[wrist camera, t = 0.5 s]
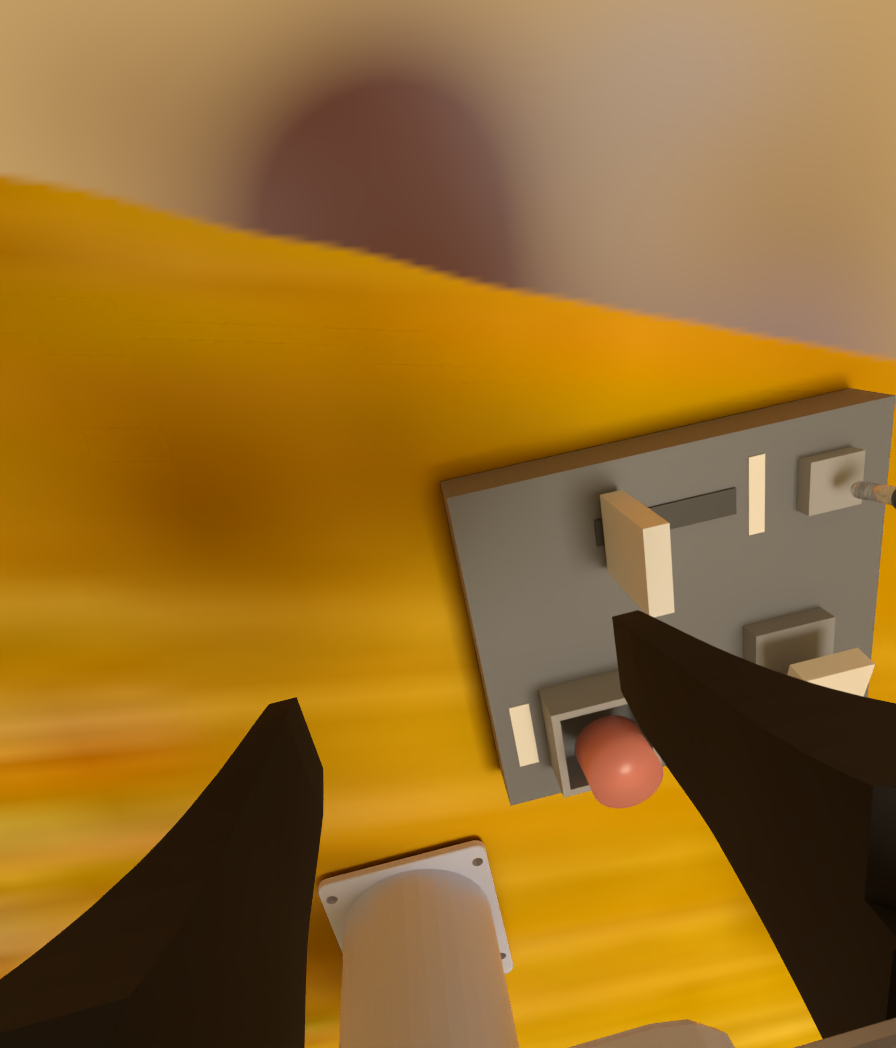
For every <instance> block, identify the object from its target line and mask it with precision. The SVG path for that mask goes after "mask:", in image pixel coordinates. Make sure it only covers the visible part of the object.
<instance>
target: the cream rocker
mask: <svg viewBox="0 0 896 1048" xmlns="http://www.w3.org/2000/svg"><path fill="white" fill-rule="evenodd" d="M874 666H875V663H874V662H873V661H872V660H870V659H869V658H868V657H867V656H866V655H865V654H864V653H863V652H862V651H861V650H860V649H859V648H855V649H851V650H847V651H843V652H839V653H835V654H831V655H827V656H823V657H819V658H815V659H811V660H807V661H803V662H799V663H795V664H791V665H790V666H789V670H788V674H787V675H788V676H792V677H795V678H798V679H801V680H804V681H807V682H810V683H813V684H817V685H820V686H824V687H828V688H831V689H835V690H839V691H843V692H847V693H851V694H855V695H859V696H864V694H865V691H866V688H867V685H868V683H869V680H870V677H871V674H872V671H873V669H874Z"/></svg>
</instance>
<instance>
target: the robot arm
mask: <svg viewBox="0 0 896 1048" xmlns="http://www.w3.org/2000/svg"><path fill="white" fill-rule="evenodd" d="M612 622H613V630H614V638H615V646H616V655H617V663H618V671H619V679H620V688H621V692H622V694H623V696H624V698H625V700H626V702H627V704H628V706H629V708H630V710H631V712H632V713H633V715H634V717H635V719H636V721H637V723H638V724H639V726H640V728H641V730H642V731H643V733H644V734H645V736H646V737H647V739H648V740H649V742H650V743H651V744H652V746H653V747H654V749H655V750H656V752H657V753H658V755H659V756H660V757H661V759H662V760H663V762H664V763H665V764H666V766H667V767H668V769H669V770H670V772H671V773H672V774H673V776H674V777H675V779H676V780H677V781H678V783H679V784H680V786H681V787H682V789H683V790H684V791H685V793H686V794H687V796H688V797H689V798H690V800H691V801H692V803H693V804H694V806H695V807H696V808H697V810H698V811H699V813H700V814H701V816H702V817H703V819H704V820H705V822H706V823H707V825H708V826H709V828H710V830H711V831H712V833H713V834H714V836H715V838H716V839H717V841H718V843H719V845H720V846H721V848H722V850H723V852H724V853H725V855H726V857H727V859H728V861H729V862H730V864H731V866H732V868H733V869H734V871H735V873H736V875H737V876H738V878H739V880H740V882H741V883H742V885H743V887H744V889H745V891H746V893H747V894H748V896H749V898H750V900H751V902H752V904H753V905H754V907H755V909H756V911H757V913H758V915H759V916H760V918H761V920H762V922H763V924H764V926H765V927H766V929H767V931H768V933H769V935H770V937H771V939H772V941H773V943H774V944H775V946H776V948H777V950H778V952H779V954H780V956H781V958H782V960H783V962H784V964H785V965H786V967H787V969H788V971H789V973H790V975H791V977H792V979H793V981H794V983H795V985H796V987H797V988H798V990H799V992H800V994H801V996H802V998H803V1000H804V1002H805V1004H806V1006H807V1008H808V1010H809V1012H810V1014H811V1016H812V1018H813V1020H814V1022H815V1024H816V1026H817V1028H818V1030H819V1032H820V1034H821V1036H822V1038H823V1039H822V1040H819V1041H815V1042H812V1043H809V1044H805V1045H802V1046H798V1047H795V1048H896V704H895V703H890V702H885V701H881V700H876V699H871V698H867V697H863V696H859V695H855V694H851V693H847V692H843V691H839V690H835V689H831V688H828V687H824V686H820V685H817V684H813V683H810V682H807V681H804V680H801V679H798V678H795V677H792V676H788V675H785V674H782V673H779V672H776V671H774V670H771V669H768V668H765V667H763V666H760V665H757V664H755V663H752V662H750V661H748V660H745V659H743V658H740V657H738V656H735V655H733V654H730V653H728V652H726V651H723V650H721V649H719V648H717V647H714V646H712V645H710V644H708V643H706V642H704V641H701V640H699V639H697V638H695V637H693V636H691V635H689V634H687V633H685V632H683V631H681V630H679V629H676V628H674V627H672V626H670V625H668V624H666V623H664V622H662V621H660V620H658V619H656V618H654V617H652V616H650V615H648V614H646V613H644V612H641V611H639V610H636V611H632V612H628V613H624V614H621V615H617V616H613V617H612ZM322 819H323V767H322V764H321V762H320V759H319V756H318V754H317V751H316V748H315V746H314V743H313V740H312V738H311V735H310V732H309V730H308V727H307V724H306V722H305V719H304V716H303V714H302V711H301V708H300V705H299V703H298V700H297V697H296V698H292V699H288V700H284V701H280V702H276V703H272V704H269V705H268V706H267V708H266V709H265V710H264V711H263V713H262V714H261V715H260V717H259V718H258V720H257V721H256V722H255V724H254V725H253V726H252V728H251V729H250V731H249V732H248V733H247V735H246V736H245V738H244V739H243V740H242V742H241V743H240V744H239V746H238V747H237V748H236V750H235V751H234V753H233V754H232V755H231V757H230V758H229V759H228V761H227V762H226V763H225V765H224V766H223V767H222V769H221V770H220V771H219V773H218V774H217V775H216V776H215V778H214V779H213V780H212V781H211V783H210V784H209V785H208V786H207V787H206V789H205V790H204V791H203V792H202V794H201V795H200V796H199V797H198V798H197V800H196V801H195V802H194V803H193V805H192V806H191V807H190V808H189V810H188V811H187V812H186V813H185V814H184V815H183V817H182V818H181V819H180V820H179V821H178V822H177V823H176V824H175V826H174V827H173V828H172V829H171V830H170V831H169V832H168V833H167V834H166V835H165V836H164V838H163V839H162V840H161V841H160V842H159V843H158V844H157V845H156V846H155V847H154V848H153V849H152V850H151V851H150V852H149V853H148V854H147V855H146V856H145V857H144V858H143V859H142V860H141V861H140V862H139V863H138V864H137V865H136V866H135V867H134V868H133V869H132V870H131V871H130V872H129V873H128V874H126V875H125V876H124V877H123V878H122V879H121V880H120V881H119V882H118V883H117V884H116V885H115V886H114V887H112V888H111V889H110V890H109V891H108V892H107V893H106V894H105V895H104V896H103V897H102V898H101V899H100V900H98V901H97V902H96V903H95V904H94V905H93V906H92V907H91V908H89V909H88V910H87V911H86V912H85V913H84V914H82V915H81V916H80V917H79V918H78V919H77V920H75V921H74V922H73V923H72V924H71V925H69V926H68V927H67V928H66V929H65V930H64V931H62V932H61V933H60V934H59V935H57V936H56V937H55V938H54V939H52V940H51V941H50V942H49V943H47V944H46V945H45V946H44V947H42V948H41V949H40V950H39V951H37V952H36V953H35V954H34V955H32V956H31V957H30V958H28V959H27V960H26V961H24V962H23V963H22V964H21V965H19V966H18V967H17V968H15V969H14V970H12V971H11V972H10V973H8V974H7V975H6V976H4V977H3V978H1V979H0V1048H304V1042H305V993H306V964H307V942H308V931H309V920H310V913H311V905H312V897H313V890H314V882H315V875H316V867H317V859H318V852H319V844H320V836H321V828H322ZM476 858H477V859H476ZM318 895H319V897H320V900H321V902H322V905H323V907H324V909H325V912H326V914H327V917H328V919H329V922H330V924H331V927H332V929H333V931H334V934H335V936H336V939H337V941H338V944H339V946H340V949H341V951H342V954H343V965H342V989H341V1013H340V1036H339V1048H519V1044H518V1039H517V1034H516V1029H515V1025H514V1020H513V1015H512V1010H511V1005H510V1000H509V995H508V990H507V985H506V980H505V975H504V974H506V973H509V972H510V971H511V970H512V968H513V962H512V957H511V953H510V949H509V945H508V941H507V936H506V932H505V928H504V924H503V920H502V916H501V911H500V907H499V903H498V899H497V895H496V891H495V886H494V882H493V878H492V874H491V870H490V866H489V861H488V857H487V853H486V849H485V845H484V843H483V842H481V841H478V840H473V841H469V842H465V843H461V844H457V845H453V846H450V847H446V848H442V849H438V850H434V851H430V852H426V853H423V854H419V855H415V856H411V857H407V858H403V859H400V860H396V861H392V862H388V863H384V864H380V865H376V866H373V867H369V868H365V869H361V870H357V871H353V872H349V873H346V874H342V875H338V876H334V877H330V878H327V879H324V880H322V881H321V882H320V884H319V888H318ZM569 1048H735V1047H734V1046H733V1044H732V1042H731V1040H730V1038H729V1037H728V1035H727V1033H724V1032H722V1031H720V1030H718V1029H716V1028H712V1027H709V1026H706V1025H703V1024H700V1023H697V1022H694V1021H691V1020H679V1021H671V1022H663V1023H654V1024H649V1025H645V1026H642V1027H638V1028H635V1029H631V1030H628V1031H624V1032H621V1033H618V1034H614V1035H611V1036H607V1037H604V1038H600V1039H597V1040H593V1041H590V1042H587V1043H583V1044H580V1045H576V1046H573V1047H569Z"/></svg>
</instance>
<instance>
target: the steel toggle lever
mask: <svg viewBox="0 0 896 1048" xmlns="http://www.w3.org/2000/svg"><path fill="white" fill-rule="evenodd" d="M850 492H851V494H852V496H854V497H855V498H858V499H863V500H868V501H873V502H878V503H884V504H889V505H893V507H894V508H895V509H896V487H895V486H889V485H883V484H878V483H872V482H866V481H858V482H855V483H854V484H853V485H852V486H851V488H850Z"/></svg>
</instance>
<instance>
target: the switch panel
mask: <svg viewBox="0 0 896 1048" xmlns="http://www.w3.org/2000/svg"><path fill="white" fill-rule="evenodd" d="M894 404H895V395H889V394H883V393H877V392H870V391H864V390H858V389H852V388H849V389H845V390H841V391H836V392H832V393H827V394H823V395H819V396H814V397H810V398H806V399H801V400H797V401H792V402H788V403H784V404H779V405H775V406H770V407H766V408H762V409H757V410H753V411H748V412H744V413H740V414H735V415H731V416H726V417H722V418H718V419H713V420H709V421H705V422H700V423H696V424H691V425H687V426H683V427H678V428H674V429H669V430H665V431H661V432H656V433H652V434H647V435H643V436H639V437H634V438H630V439H625V440H621V441H617V442H612V443H608V444H603V445H599V446H595V447H590V448H586V449H582V450H577V451H573V452H568V453H564V454H560V455H555V456H551V457H546V458H542V459H538V460H533V461H529V462H524V463H520V464H516V465H511V466H507V467H502V468H498V469H494V470H489V471H485V472H481V473H476V474H472V475H467V476H463V477H459V478H454V479H450V480H445V481H441V482H440V485H441V489H442V494H443V499H444V504H445V508H446V513H447V518H448V523H449V527H450V532H451V537H452V542H453V546H454V551H455V556H456V561H457V565H458V570H459V575H460V580H461V584H462V589H463V594H464V598H465V603H466V608H467V613H468V617H469V622H470V627H471V632H472V636H473V641H474V646H475V651H476V655H477V660H478V665H479V670H480V674H481V679H482V684H483V689H484V693H485V698H486V703H487V707H488V712H489V717H490V722H491V726H492V731H493V736H494V741H495V745H496V750H497V755H498V760H499V764H500V769H501V773H502V776H503V780H504V783H505V787H506V790H507V794H508V798H509V801H510V805H515V804H519V803H523V802H527V801H531V800H534V799H538V798H542V797H546V796H550V795H554V794H558V793H562V794H563V796H564V797H568V796H572V795H576V794H580V793H584V792H588V791H591V788H590V786H589V783H588V781H587V779H586V777H585V775H584V773H583V770H582V768H581V766H580V764H579V762H578V760H577V757H576V755H575V742H576V739H577V737H578V735H579V734H580V732H581V731H582V730H583V729H584V728H585V727H586V726H587V725H588V724H590V723H591V722H593V721H594V720H596V719H599V718H601V717H605V716H610V715H619V716H624V717H627V718H629V719H631V720H632V721H633V722H634V723H635V724H636V725H637V726H638V728H639V729H640V731H641V732H642V734H643V735H644V737H645V739H646V740H647V742H648V743H649V745H650V746H651V748H652V749H653V751H654V753H655V754H656V756H657V757H658V759H659V760H660V762H661V764H662V767H663V766H666V764H665V763H664V762H663V760H662V759H661V757H660V756H659V755H658V753H657V752H656V750H655V749H654V747H653V746H652V744H651V743H650V742H649V740H648V739H647V737H646V736H645V734H644V733H643V731H642V730H641V728H640V726H639V724H638V723H637V721H636V719H635V717H634V715H633V713H632V712H631V710H630V708H629V706H628V704H627V702H626V700H625V698H624V696H623V694H622V692H621V688H620V679H619V671H618V663H617V655H616V646H615V638H614V630H613V622H612V617H613V616H617V615H621V614H624V613H628V612H632V611H636V610H639V611H641V612H643V611H642V610H641V609H640V608H639V606H638V605H637V604H636V603H635V602H634V601H633V600H632V599H631V598H630V597H629V595H628V594H627V593H626V592H625V591H624V590H623V589H622V588H621V587H620V586H619V584H618V583H617V582H616V581H615V580H614V579H613V578H612V577H611V576H610V575H609V573H608V570H607V560H606V551H605V541H604V531H603V522H602V512H601V502H600V495H601V494H605V493H610V492H614V491H618V490H624V491H625V492H626V493H628V494H629V495H631V496H632V497H634V498H635V499H636V500H638V501H639V502H641V503H642V504H643V505H645V506H646V507H648V508H649V509H651V510H652V511H653V512H655V513H656V514H658V515H659V516H660V517H662V518H663V519H665V520H666V521H667V522H669V523H670V540H671V558H672V576H673V593H674V611H675V612H674V613H670V614H666V615H662V616H658V617H654V618H656V619H658V620H660V621H662V622H664V623H666V624H668V625H670V626H672V627H674V628H676V629H679V630H681V631H683V632H685V633H687V634H689V635H691V636H693V637H695V638H697V639H699V640H701V641H704V642H706V643H708V644H710V645H712V646H714V647H717V648H719V649H721V650H723V651H726V652H728V653H730V654H733V655H735V656H738V657H740V658H743V659H745V660H748V661H750V662H752V663H755V664H757V665H760V666H763V667H765V668H768V669H771V670H774V671H776V672H779V673H782V674H785V675H787V674H788V670H789V666H790V665H791V664H795V663H799V662H803V661H807V660H811V659H815V658H819V657H823V656H827V655H831V654H835V653H839V652H843V651H847V650H851V649H855V648H859V649H860V650H861V651H862V652H863V653H864V654H865V655H866V656H867V657H868V658H869V659H870V660H871V653H872V642H873V631H874V620H875V609H876V599H877V588H878V577H879V566H880V555H881V545H882V534H883V523H884V512H885V504H884V503H878V502H873V501H868V500H863V499H858V498H855V497H854V496H852V494H851V492H850V488H851V486H852V485H853V484H854V483H855V482H858V481H866V482H872V483H878V484H883V485H887V480H888V469H889V458H890V447H891V437H892V426H893V415H894ZM868 685H869V683H868ZM868 685H867V688H866V691H865V694H864V696H863V697H867V696H868Z"/></svg>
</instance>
